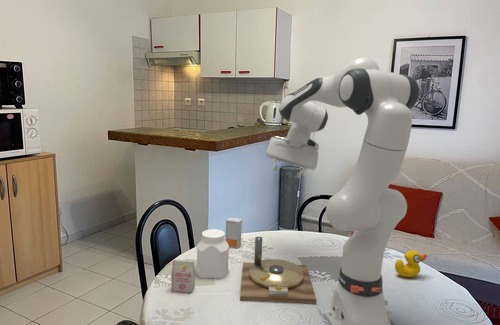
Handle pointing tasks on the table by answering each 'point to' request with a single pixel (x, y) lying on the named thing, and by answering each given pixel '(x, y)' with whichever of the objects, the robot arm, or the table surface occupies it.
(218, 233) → the jar
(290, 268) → the crank wheel
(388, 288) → the table surface
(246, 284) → the wooden wheel stand
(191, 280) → the small printed food carton
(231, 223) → the skincare box
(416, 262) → the duckling
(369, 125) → the robot arm
